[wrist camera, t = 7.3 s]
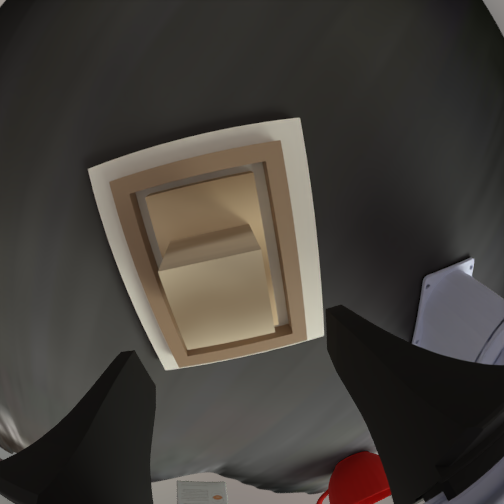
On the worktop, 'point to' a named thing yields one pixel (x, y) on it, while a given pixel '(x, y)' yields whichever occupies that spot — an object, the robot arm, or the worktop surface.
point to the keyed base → (273, 218)
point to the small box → (201, 492)
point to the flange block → (214, 259)
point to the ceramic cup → (358, 481)
